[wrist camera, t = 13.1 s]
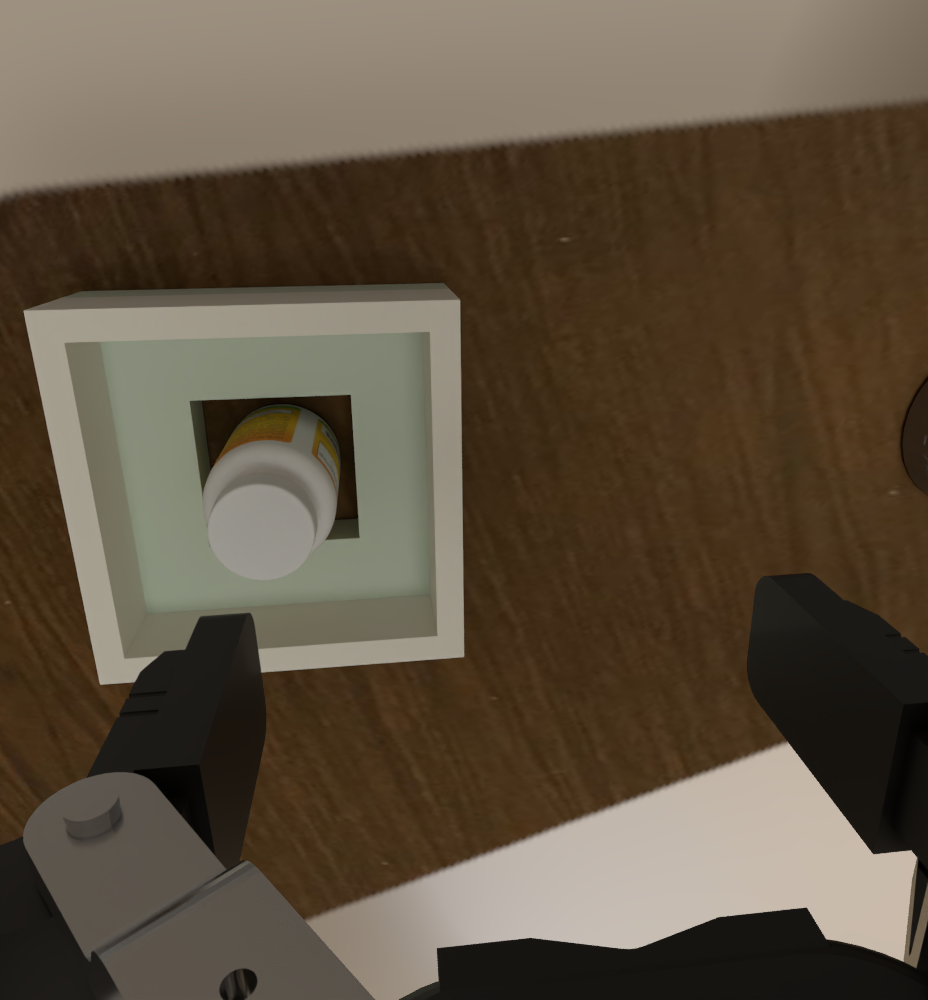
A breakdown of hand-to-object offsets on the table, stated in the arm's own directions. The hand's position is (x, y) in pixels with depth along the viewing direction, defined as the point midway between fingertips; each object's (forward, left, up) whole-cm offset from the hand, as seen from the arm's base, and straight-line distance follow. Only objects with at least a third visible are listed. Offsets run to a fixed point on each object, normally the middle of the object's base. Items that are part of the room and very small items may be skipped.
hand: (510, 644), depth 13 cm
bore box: (+6, +5, -27) cm, 28 cm away
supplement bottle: (+6, +5, -27) cm, 28 cm away
